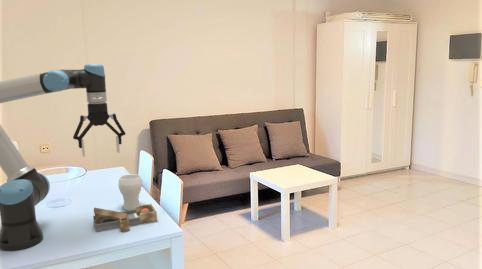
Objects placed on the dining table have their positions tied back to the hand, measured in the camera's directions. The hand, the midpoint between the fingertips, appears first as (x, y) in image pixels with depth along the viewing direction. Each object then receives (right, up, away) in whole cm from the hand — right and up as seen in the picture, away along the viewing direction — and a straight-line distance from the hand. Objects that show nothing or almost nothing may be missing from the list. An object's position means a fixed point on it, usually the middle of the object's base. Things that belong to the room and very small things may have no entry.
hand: (101, 154), depth 166 cm
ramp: (+3, -29, +5) cm, 29 cm away
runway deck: (+5, -30, +6) cm, 31 cm away
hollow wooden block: (+10, -31, -1) cm, 33 cm away
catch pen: (+16, -29, +11) cm, 35 cm away
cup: (+6, -27, +25) cm, 37 cm away
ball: (+16, -27, +10) cm, 33 cm away
